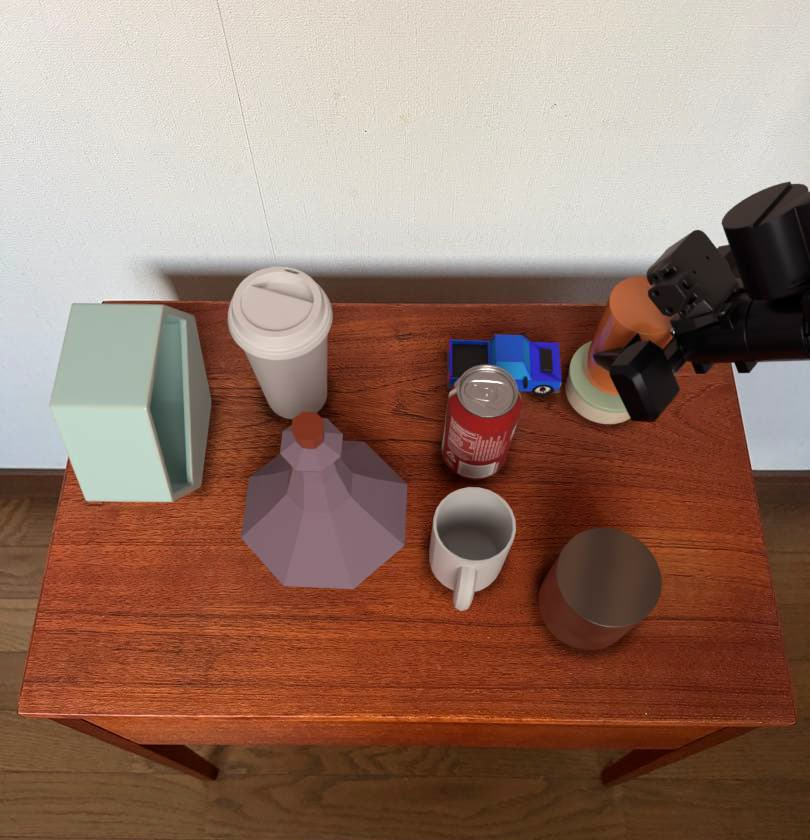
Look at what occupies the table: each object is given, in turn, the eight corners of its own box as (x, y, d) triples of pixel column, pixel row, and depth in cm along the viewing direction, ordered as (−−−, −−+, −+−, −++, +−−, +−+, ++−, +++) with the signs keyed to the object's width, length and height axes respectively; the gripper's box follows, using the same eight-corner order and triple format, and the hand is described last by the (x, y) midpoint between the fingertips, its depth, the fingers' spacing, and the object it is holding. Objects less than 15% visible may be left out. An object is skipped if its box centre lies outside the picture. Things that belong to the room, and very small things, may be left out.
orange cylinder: (660, 376, 75) (697, 312, 66) (611, 406, 74) (642, 346, 64) (618, 332, 77) (648, 265, 68) (570, 361, 76) (594, 296, 67)
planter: (214, 480, 79) (153, 513, 59) (143, 479, 79) (56, 512, 59) (208, 319, 76) (142, 296, 56) (134, 318, 76) (40, 294, 56)
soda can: (498, 489, 74) (517, 431, 63) (434, 474, 75) (441, 412, 64) (511, 434, 77) (532, 368, 66) (449, 419, 78) (459, 351, 66)
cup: (504, 530, 73) (519, 492, 65) (495, 627, 69) (509, 600, 61) (433, 520, 73) (438, 481, 65) (419, 616, 69) (423, 588, 61)
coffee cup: (359, 390, 79) (353, 297, 65) (298, 449, 76) (278, 364, 62) (295, 342, 81) (276, 242, 67) (233, 397, 78) (200, 305, 64)
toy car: (557, 404, 79) (567, 377, 74) (446, 400, 78) (449, 374, 74) (554, 352, 81) (563, 324, 77) (446, 349, 81) (449, 320, 76)
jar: (650, 366, 81) (660, 348, 78) (639, 434, 77) (649, 419, 74) (570, 347, 81) (577, 329, 78) (556, 414, 78) (562, 398, 75)
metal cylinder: (637, 573, 71) (668, 541, 63) (624, 661, 68) (654, 639, 60) (547, 550, 72) (566, 516, 64) (529, 636, 69) (547, 611, 61)
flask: (379, 435, 77) (376, 311, 58) (435, 575, 71) (451, 486, 52) (227, 482, 74) (173, 368, 56) (272, 631, 68) (228, 558, 50)
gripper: (795, 170, 58) (638, 209, 71) (667, 312, 53) (521, 326, 65) (830, 290, 63) (677, 306, 76) (717, 430, 58) (573, 422, 71)
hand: (615, 336), depth 72 cm, fingers closed on orange cylinder, 6 cm apart
